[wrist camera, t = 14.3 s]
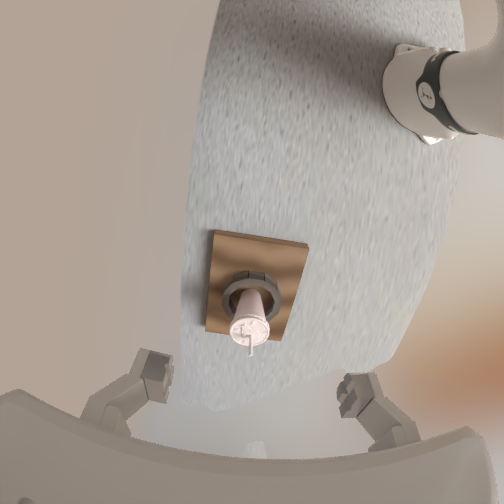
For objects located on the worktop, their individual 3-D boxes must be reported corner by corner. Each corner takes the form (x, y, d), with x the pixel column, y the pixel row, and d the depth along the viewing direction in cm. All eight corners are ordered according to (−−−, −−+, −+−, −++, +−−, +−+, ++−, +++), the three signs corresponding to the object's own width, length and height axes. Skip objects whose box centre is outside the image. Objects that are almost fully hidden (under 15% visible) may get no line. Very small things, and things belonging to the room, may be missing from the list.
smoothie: (244, 314, 52) (241, 371, 40) (226, 291, 49) (217, 347, 37) (274, 301, 50) (278, 358, 38) (257, 276, 48) (257, 332, 35)
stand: (215, 229, 46) (211, 240, 42) (307, 243, 47) (311, 256, 43) (206, 324, 56) (203, 339, 52) (280, 334, 57) (281, 349, 53)
